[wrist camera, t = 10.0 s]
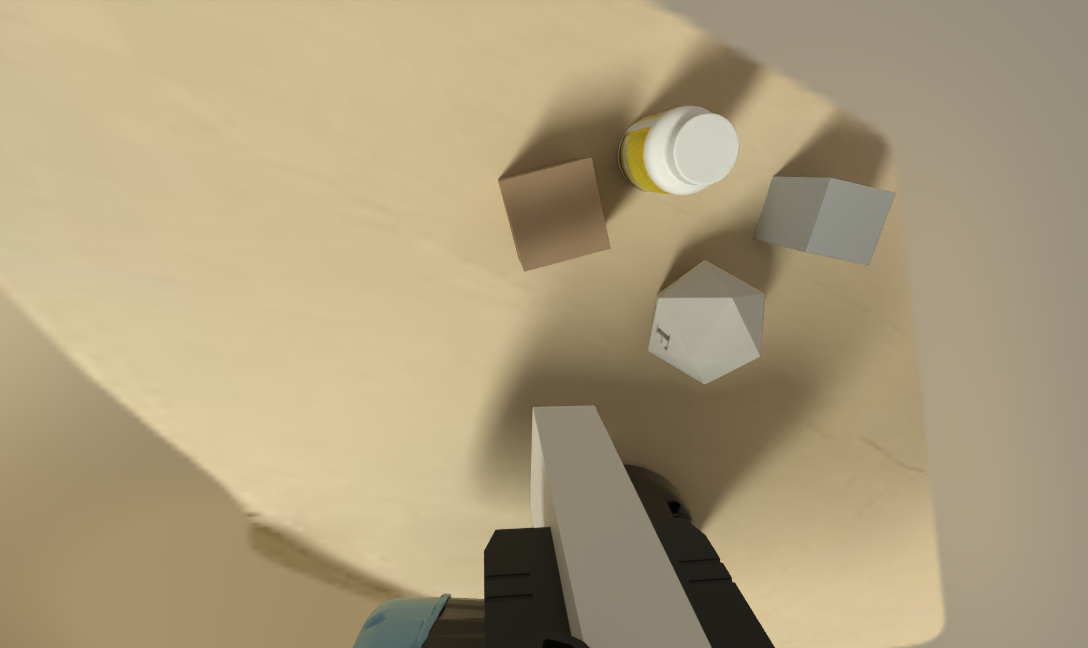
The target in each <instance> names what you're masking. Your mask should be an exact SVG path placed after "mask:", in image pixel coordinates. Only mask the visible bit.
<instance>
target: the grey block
mask: <svg viewBox="0 0 1088 648" xmlns="http://www.w3.org/2000/svg"><path fill="white" fill-rule="evenodd" d="M895 194H896V193H894V192H889V191H885V190H881V189H877V188H872V187H868V186H864V185H860V184H856V183H851V182H847V181H843V180H839V179H835V178H823V177H773V178H772V181H771V185H770V188H769V191H768V194H767V197H766V201H765V204H764V207H763V210H762V213H761V217H760V220H759V223H758V226H757V229H756V233H755V236H754V239H755V240H759V241H763V242H767V243H771V244H775V245H779V246H783V247H787V248H791V249H795V250H799V251H803V252H808V253H812V254H817V255H822V256H827V257H832V258H837V259H841V260H846V261H851V262H856V263H861V264H866V265H869V263H870V260H871V258H872V255H873V252H874V250H875V247H876V244H877V242H878V239H879V236H880V234H881V231H882V228H883V226H884V223H885V220H886V218H887V215H888V212H889V210H890V207H891V204H892V202H893V199H894V196H895Z"/></svg>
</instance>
